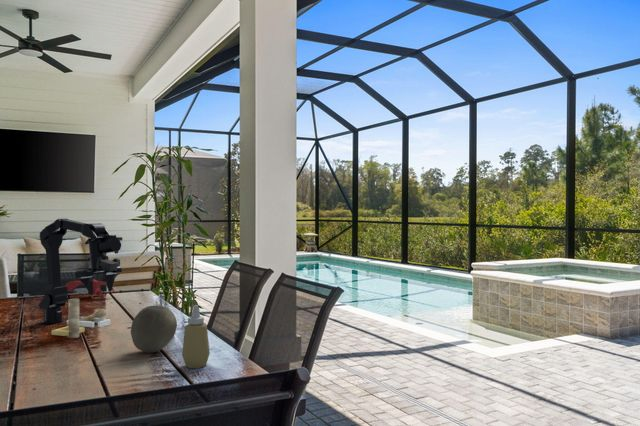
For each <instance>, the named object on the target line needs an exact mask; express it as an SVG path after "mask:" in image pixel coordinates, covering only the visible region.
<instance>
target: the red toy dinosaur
mask: <svg viewBox="0 0 640 426" xmlns="http://www.w3.org/2000/svg"><path fill="white" fill-rule="evenodd" d="M65 286H67V292H73V290H74V289H75V288H78V287H79V286H84V284H83V283H82V282H81V280H71V281H69V282H67V283H66V284H65ZM100 286H106V287H107V284H106V281H105V282H104V281H101V280H96V279H94V280H93V295H90V293H89V292H88V291H87V295H85V297H86V298H87V299H88V297H89V295H90V297H91V298H94V296H95V295H96V296H102V294H103V293H104V291H103V290H101V289H100ZM113 287H114V286H113ZM113 287H112V291H111V292H113V293H115V290H114V288H113Z"/></svg>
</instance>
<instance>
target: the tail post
mask: <svg viewBox="0 0 640 426" xmlns="http://www.w3.org/2000/svg"><path fill="white" fill-rule="evenodd" d="M79 318H80V298H77V297H76V298H70V299H69V298H68V320H69V336H68V339H77V338H80V333H79V327H80V326H79Z"/></svg>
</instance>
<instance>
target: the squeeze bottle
mask: <svg viewBox="0 0 640 426" xmlns="http://www.w3.org/2000/svg"><path fill="white" fill-rule="evenodd" d="M200 313H201V312H200V309H199V305H198V304H194V305H193V308H192V313H191V316H189V317H188V318H187V325H185V326H184V329H183V330H184V331H183V341H182V342H183V343H182V349H181V350H182V351H181V354H182V355H181V357H182V359H183V362H184V365H185V367H186V368H189V369H199V368H203V367H205V366H206V365H207V363H208V361H209V357H210V353H211V352H210V342H209V334H208V326H207V324H205V317H204V316H201V314H200Z"/></svg>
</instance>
